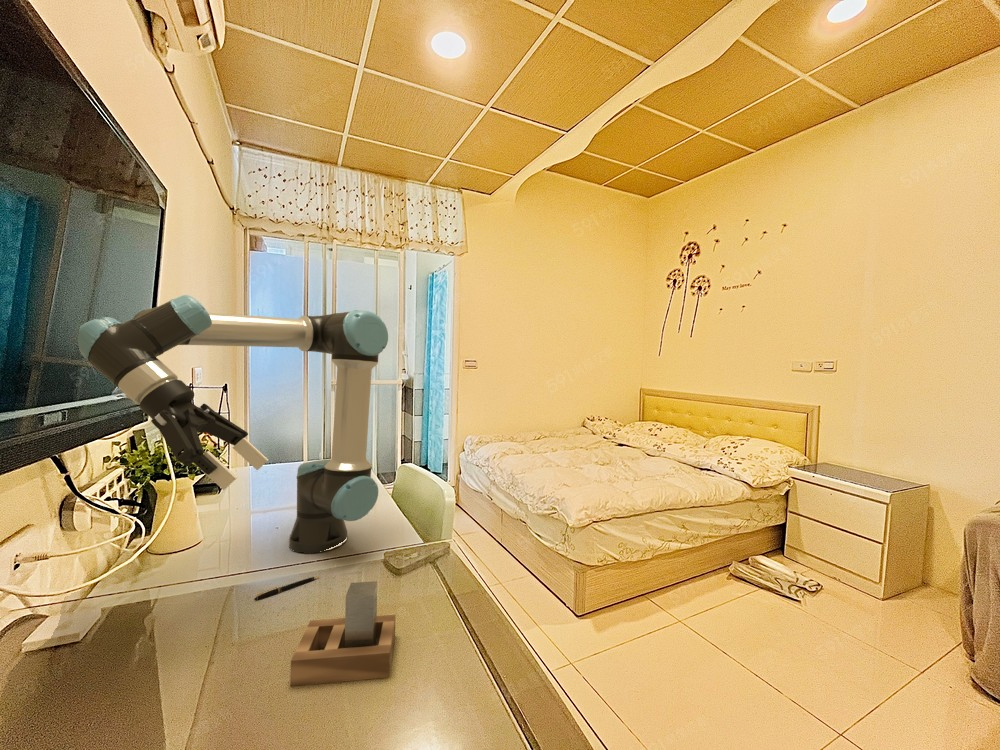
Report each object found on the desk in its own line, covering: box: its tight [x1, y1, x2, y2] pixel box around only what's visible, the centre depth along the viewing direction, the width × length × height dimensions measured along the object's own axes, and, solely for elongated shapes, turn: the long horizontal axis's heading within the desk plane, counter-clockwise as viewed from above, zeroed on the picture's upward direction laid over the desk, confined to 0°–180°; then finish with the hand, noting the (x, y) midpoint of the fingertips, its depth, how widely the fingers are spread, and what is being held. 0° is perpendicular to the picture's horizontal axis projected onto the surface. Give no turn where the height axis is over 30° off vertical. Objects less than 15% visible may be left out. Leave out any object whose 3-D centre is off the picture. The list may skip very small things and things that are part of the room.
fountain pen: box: [253, 575, 320, 601], centre depth 93 cm, size 14×1×2 cm, turn 137°
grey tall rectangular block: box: [344, 580, 378, 648], centre depth 72 cm, size 4×4×12 cm
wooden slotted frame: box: [289, 614, 396, 687], centre depth 71 cm, size 10×15×4 cm
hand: (248, 473), depth 78 cm, fingers open, 13 cm apart
